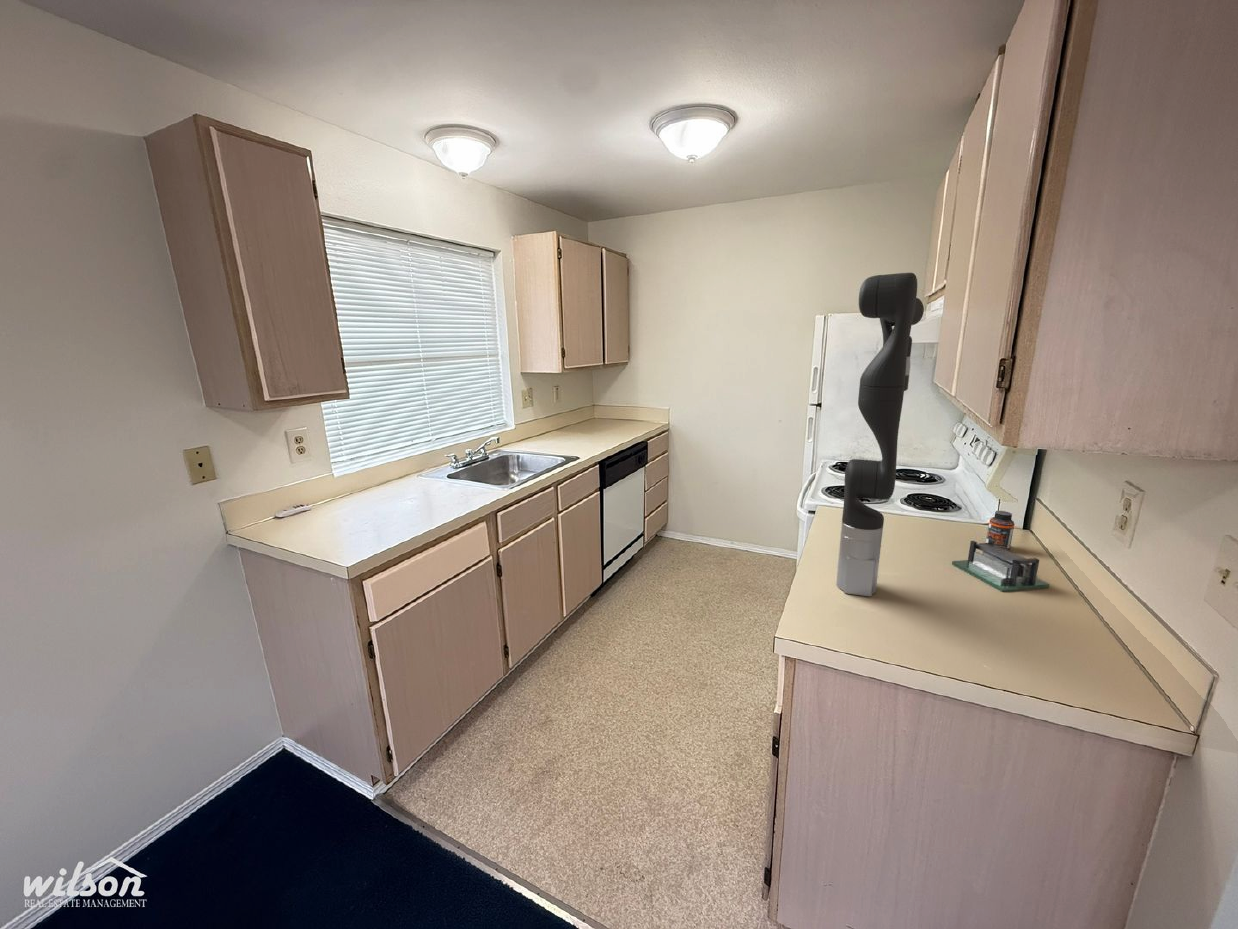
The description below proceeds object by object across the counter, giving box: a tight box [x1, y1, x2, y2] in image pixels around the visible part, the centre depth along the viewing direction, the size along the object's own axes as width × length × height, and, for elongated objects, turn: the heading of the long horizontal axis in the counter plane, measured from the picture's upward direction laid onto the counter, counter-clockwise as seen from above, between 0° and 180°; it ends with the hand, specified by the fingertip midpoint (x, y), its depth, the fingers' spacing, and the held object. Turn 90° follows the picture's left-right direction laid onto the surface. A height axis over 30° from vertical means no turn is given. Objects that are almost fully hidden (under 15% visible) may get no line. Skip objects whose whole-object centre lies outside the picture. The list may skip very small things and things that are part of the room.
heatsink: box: [951, 539, 1050, 593], centre depth 130 cm, size 16×13×8 cm
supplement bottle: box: [985, 510, 1015, 552], centre depth 146 cm, size 6×6×11 cm
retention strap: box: [976, 542, 1029, 564], centre depth 129 cm, size 1×4×13 cm
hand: (887, 434), depth 142 cm, fingers closed
